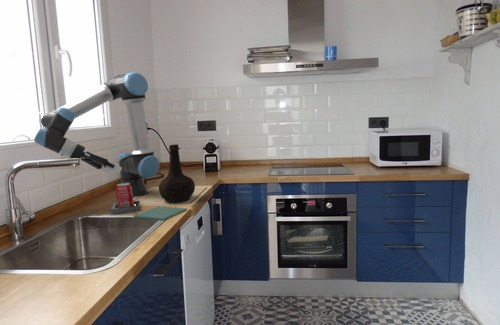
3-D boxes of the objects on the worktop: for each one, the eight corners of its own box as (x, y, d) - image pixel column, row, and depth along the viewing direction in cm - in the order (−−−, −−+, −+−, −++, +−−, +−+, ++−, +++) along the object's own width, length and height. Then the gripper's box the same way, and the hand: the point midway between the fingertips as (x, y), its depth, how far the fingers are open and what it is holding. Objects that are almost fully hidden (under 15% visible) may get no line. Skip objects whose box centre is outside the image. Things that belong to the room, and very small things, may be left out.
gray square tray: (113, 207, 174) (113, 203, 174) (139, 204, 177) (139, 200, 177) (111, 214, 162) (110, 209, 162) (139, 210, 165) (138, 206, 165)
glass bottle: (167, 206, 170) (162, 147, 166) (154, 200, 185) (149, 145, 181) (202, 200, 180) (197, 143, 176) (187, 194, 195) (183, 142, 191)
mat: (158, 207, 169) (158, 206, 169) (186, 210, 162) (186, 208, 162) (133, 217, 155) (133, 215, 155) (163, 220, 148) (163, 218, 148)
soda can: (128, 206, 175) (126, 182, 173) (137, 208, 170) (134, 183, 169) (115, 210, 169) (112, 184, 168) (123, 212, 165) (120, 186, 163)
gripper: (66, 161, 172) (109, 180, 181) (71, 154, 151) (119, 176, 159) (74, 147, 174) (115, 167, 183) (80, 138, 153) (127, 161, 162)
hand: (117, 171), depth 171 cm, fingers open, 13 cm apart
